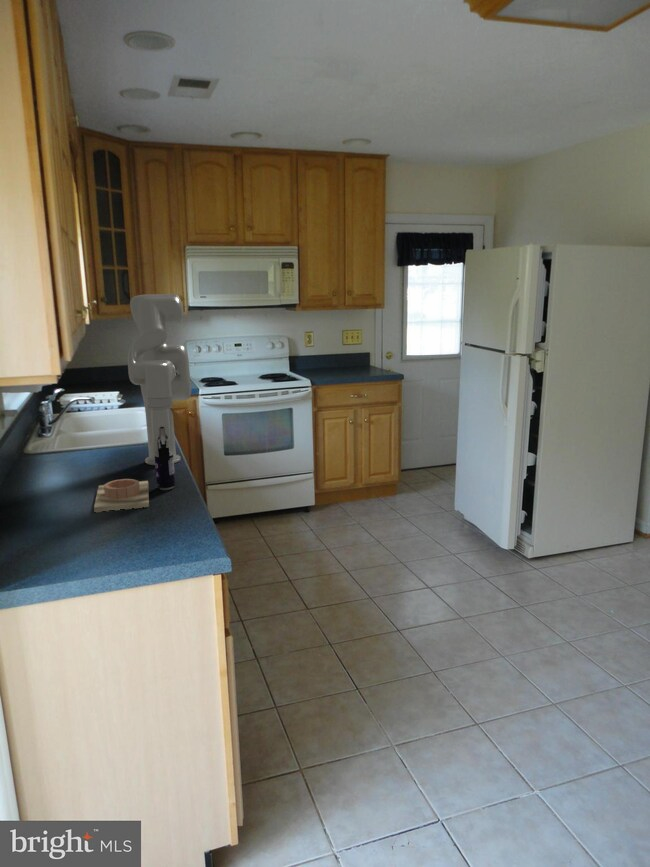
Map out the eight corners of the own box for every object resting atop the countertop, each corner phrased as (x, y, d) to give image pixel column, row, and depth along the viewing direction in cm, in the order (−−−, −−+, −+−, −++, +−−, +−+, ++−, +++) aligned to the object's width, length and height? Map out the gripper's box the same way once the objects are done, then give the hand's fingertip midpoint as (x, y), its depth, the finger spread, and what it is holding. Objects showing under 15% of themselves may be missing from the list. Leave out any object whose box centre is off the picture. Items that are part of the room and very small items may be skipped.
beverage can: (168, 484, 204) (165, 448, 202) (179, 487, 201) (176, 450, 198) (153, 488, 200) (150, 452, 197) (164, 491, 197) (161, 454, 194)
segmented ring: (106, 490, 195) (105, 480, 194) (139, 486, 197) (139, 477, 196) (104, 500, 185) (103, 490, 184) (139, 496, 188) (138, 486, 187)
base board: (99, 489, 200) (98, 485, 200) (148, 485, 204) (147, 480, 203) (94, 512, 179) (93, 507, 179) (149, 506, 183) (148, 501, 183)
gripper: (146, 400, 201) (151, 452, 205) (147, 407, 185) (151, 464, 188) (171, 398, 203) (175, 450, 207) (173, 406, 187) (177, 462, 190)
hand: (164, 457), depth 198 cm, fingers open, 9 cm apart
